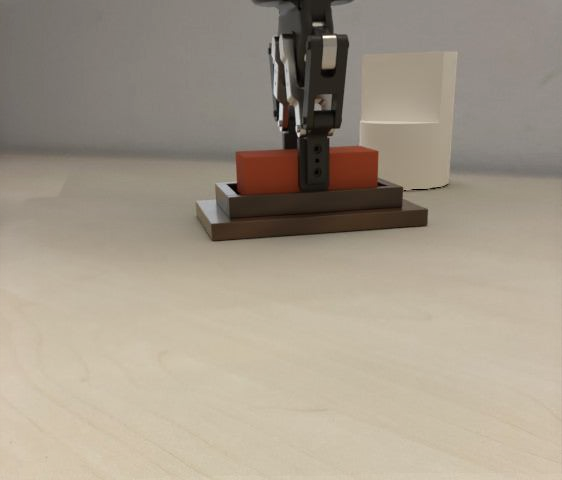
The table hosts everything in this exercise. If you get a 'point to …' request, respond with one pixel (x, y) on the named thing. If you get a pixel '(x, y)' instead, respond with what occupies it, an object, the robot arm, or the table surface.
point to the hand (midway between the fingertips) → (305, 185)
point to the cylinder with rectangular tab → (409, 115)
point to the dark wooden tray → (306, 211)
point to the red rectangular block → (284, 169)
